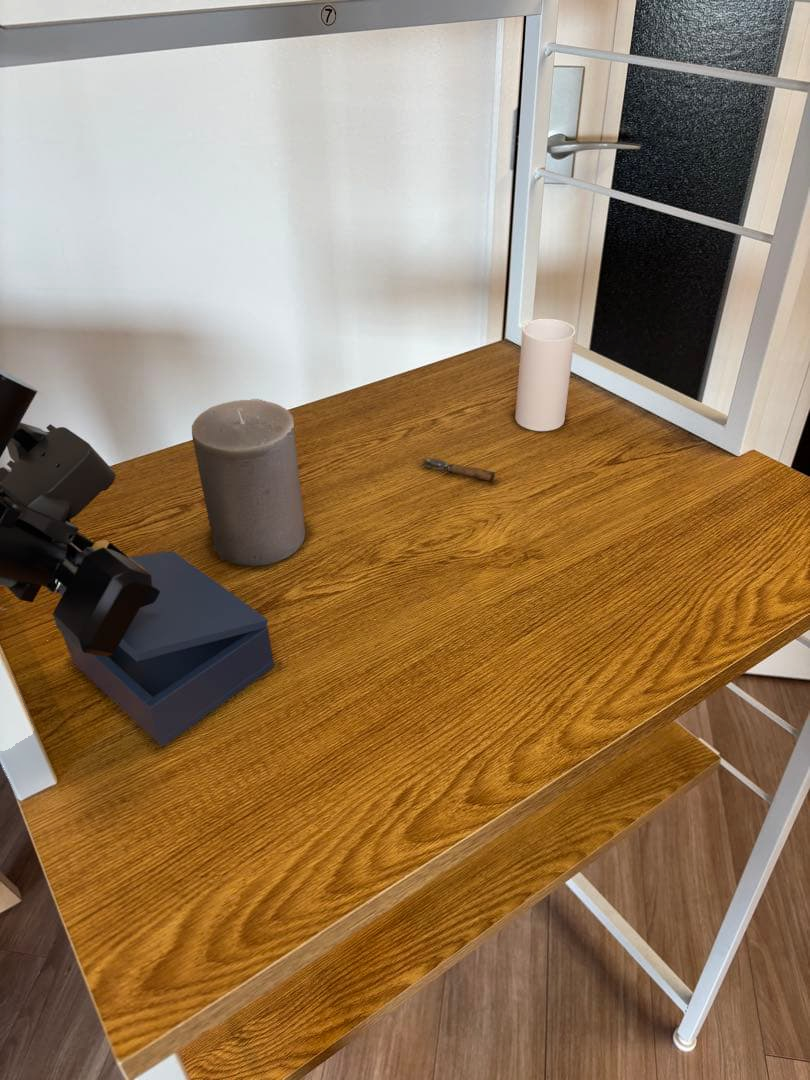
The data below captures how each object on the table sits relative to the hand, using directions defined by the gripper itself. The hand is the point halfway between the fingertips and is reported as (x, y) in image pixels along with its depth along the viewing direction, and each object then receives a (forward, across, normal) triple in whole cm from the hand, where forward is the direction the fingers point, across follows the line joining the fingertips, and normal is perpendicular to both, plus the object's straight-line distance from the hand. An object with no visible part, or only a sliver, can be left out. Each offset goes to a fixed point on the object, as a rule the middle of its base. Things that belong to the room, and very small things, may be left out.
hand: (137, 581), depth 65 cm
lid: (+3, 0, +1) cm, 3 cm away
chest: (+8, 0, +6) cm, 11 cm away
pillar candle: (+20, +9, -6) cm, 22 cm away
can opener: (+35, +1, -23) cm, 42 cm away
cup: (+46, +1, -35) cm, 58 cm away
